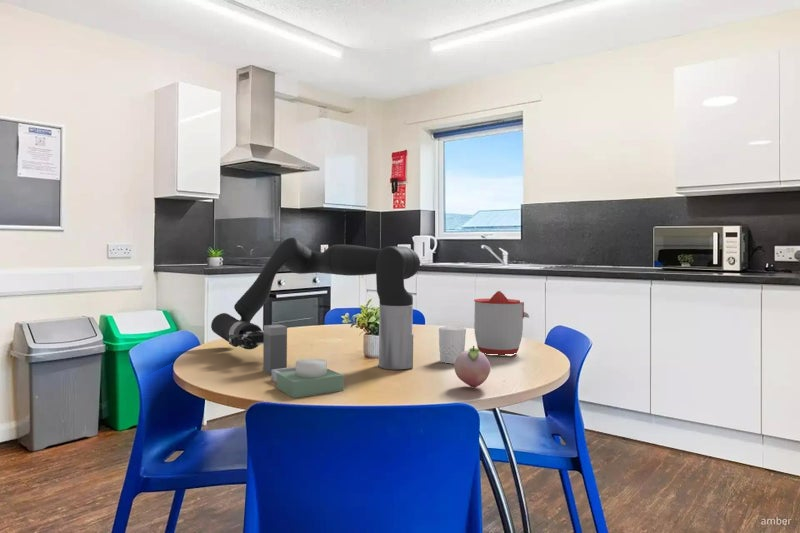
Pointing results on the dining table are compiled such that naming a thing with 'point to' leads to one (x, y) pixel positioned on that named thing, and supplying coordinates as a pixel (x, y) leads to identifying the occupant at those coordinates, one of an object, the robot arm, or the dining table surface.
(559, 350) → the dining table surface
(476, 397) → the dining table surface
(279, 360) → the tall grey square pillar
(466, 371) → the decorative fruit
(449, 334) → the white cup
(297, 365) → the shallow green tray
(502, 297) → the citrus juicer
